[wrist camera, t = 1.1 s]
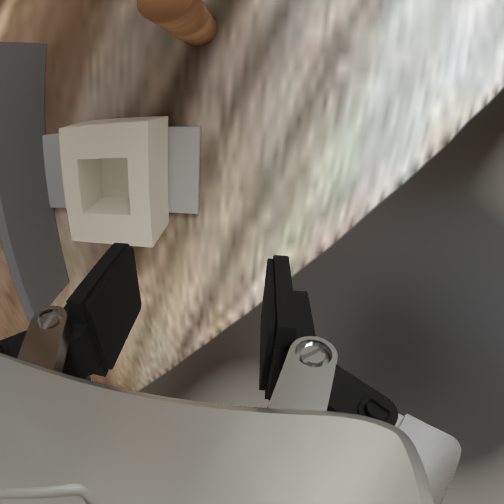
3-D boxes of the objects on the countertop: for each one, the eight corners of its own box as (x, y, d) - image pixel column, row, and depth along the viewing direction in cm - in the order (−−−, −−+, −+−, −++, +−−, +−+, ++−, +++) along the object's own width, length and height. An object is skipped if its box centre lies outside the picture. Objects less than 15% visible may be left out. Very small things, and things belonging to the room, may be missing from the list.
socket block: (88, 120, 24) (58, 128, 20) (168, 116, 24) (148, 121, 20) (96, 218, 29) (72, 240, 24) (169, 223, 29) (152, 247, 24)
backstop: (36, 47, 20) (-16, 46, 13) (208, 19, 20) (186, -9, 13) (60, 280, 34) (27, 319, 27) (200, 297, 34) (185, 350, 27)
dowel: (181, 14, 20) (140, -22, 11) (218, 13, 20) (194, -28, 11) (179, 46, 22) (134, 24, 13) (215, 45, 22) (189, 18, 13)
